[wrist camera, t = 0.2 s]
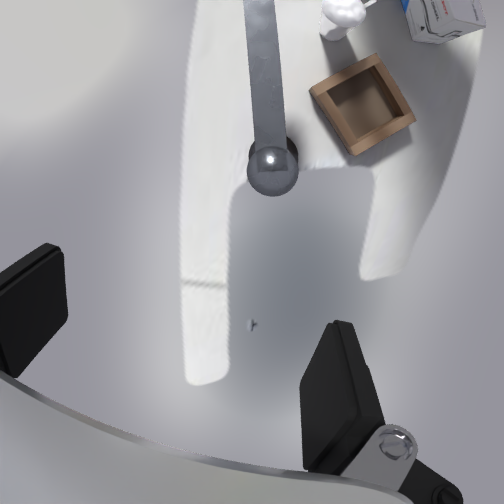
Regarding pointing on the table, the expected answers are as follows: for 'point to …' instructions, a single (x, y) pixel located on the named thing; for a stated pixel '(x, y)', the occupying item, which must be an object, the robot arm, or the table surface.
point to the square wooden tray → (363, 104)
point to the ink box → (442, 19)
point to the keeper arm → (267, 103)
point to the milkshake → (341, 17)
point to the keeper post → (290, 148)
